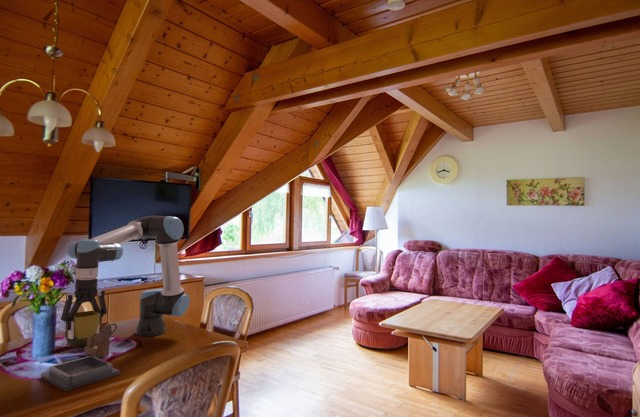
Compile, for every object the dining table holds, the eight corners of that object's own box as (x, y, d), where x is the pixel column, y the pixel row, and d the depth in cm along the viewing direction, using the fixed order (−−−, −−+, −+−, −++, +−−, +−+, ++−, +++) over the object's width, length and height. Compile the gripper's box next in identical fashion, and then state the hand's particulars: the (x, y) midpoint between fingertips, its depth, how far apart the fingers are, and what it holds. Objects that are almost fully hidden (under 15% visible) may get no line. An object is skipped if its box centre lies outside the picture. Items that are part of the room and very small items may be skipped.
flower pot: (99, 337, 154) (100, 314, 154) (74, 341, 148) (75, 317, 148) (92, 332, 160) (93, 310, 160) (67, 336, 154) (69, 313, 154)
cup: (101, 350, 181) (102, 328, 182) (61, 348, 183) (62, 326, 184) (118, 342, 194) (118, 321, 195) (80, 340, 196) (81, 320, 196)
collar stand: (94, 362, 167) (94, 353, 167) (119, 374, 156) (120, 364, 156) (40, 377, 151) (41, 367, 151) (64, 391, 140) (65, 380, 140)
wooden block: (102, 358, 172) (104, 317, 173) (84, 354, 176) (86, 314, 176) (109, 355, 176) (111, 315, 176) (91, 352, 179) (93, 313, 180)
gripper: (61, 282, 144) (57, 344, 143) (118, 276, 162) (115, 331, 161) (51, 280, 148) (48, 340, 147) (109, 274, 166) (106, 327, 165)
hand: (83, 335), depth 154 cm, fingers closed on flower pot, 9 cm apart
